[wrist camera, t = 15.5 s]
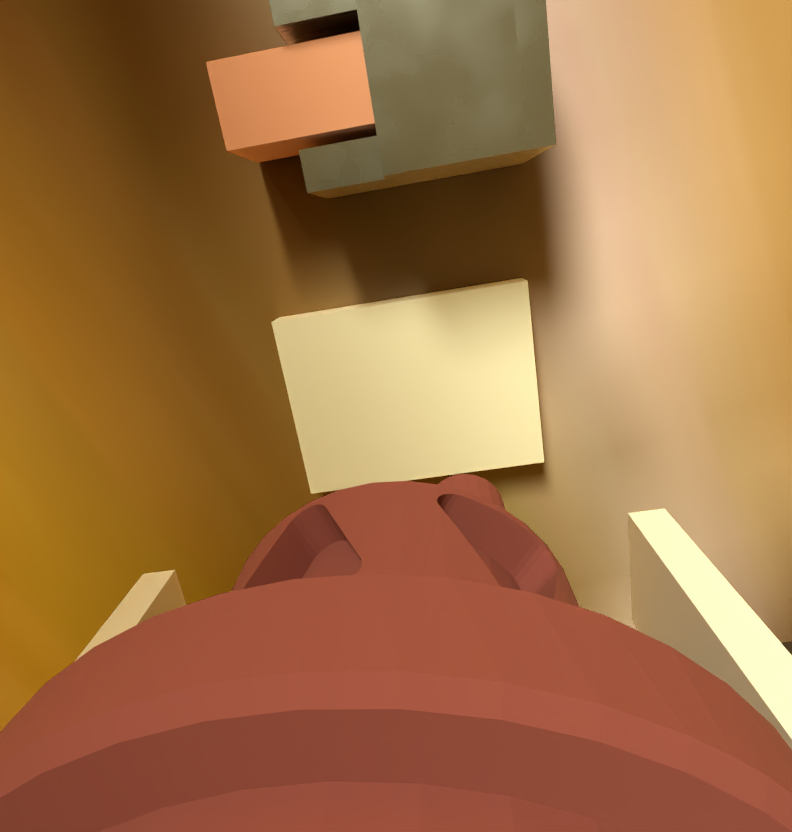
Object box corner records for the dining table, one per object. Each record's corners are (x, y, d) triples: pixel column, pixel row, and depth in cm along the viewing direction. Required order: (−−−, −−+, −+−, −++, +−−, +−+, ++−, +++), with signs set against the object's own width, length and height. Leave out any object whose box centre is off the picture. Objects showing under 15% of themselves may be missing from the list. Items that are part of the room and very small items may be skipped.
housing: (327, 198, 27) (299, 191, 20) (294, 25, 25) (253, -42, 18) (522, 163, 26) (555, 144, 20) (506, -18, 24) (538, -105, 18)
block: (315, 481, 31) (311, 493, 30) (278, 317, 29) (271, 322, 27) (538, 450, 30) (544, 462, 29) (522, 277, 28) (527, 280, 26)
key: (257, 162, 26) (226, 150, 22) (241, 88, 25) (205, 61, 21) (432, 129, 25) (435, 111, 21) (422, 52, 24) (423, 17, 20)
